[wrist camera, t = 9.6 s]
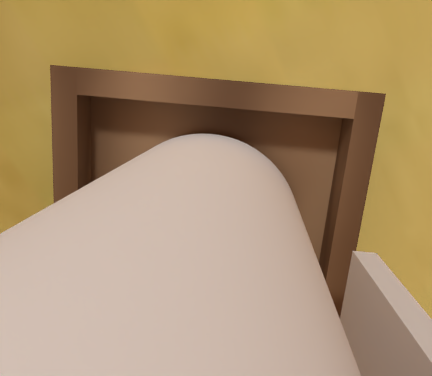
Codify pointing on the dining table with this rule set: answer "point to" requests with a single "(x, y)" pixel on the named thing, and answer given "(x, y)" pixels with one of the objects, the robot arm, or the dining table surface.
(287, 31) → the dining table surface
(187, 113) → the square wooden tray
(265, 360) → the cup
